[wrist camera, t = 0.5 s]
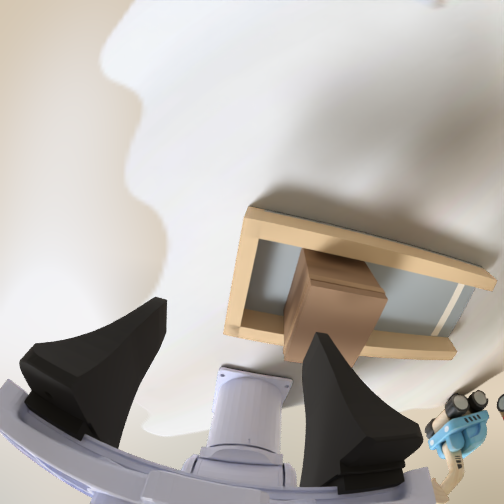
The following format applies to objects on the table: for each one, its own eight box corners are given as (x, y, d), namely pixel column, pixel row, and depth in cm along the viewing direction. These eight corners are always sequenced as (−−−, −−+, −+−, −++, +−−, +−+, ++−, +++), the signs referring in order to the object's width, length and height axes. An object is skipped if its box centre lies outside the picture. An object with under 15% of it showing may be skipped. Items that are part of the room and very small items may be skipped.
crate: (338, 319, 23) (351, 369, 17) (282, 310, 23) (283, 360, 17) (363, 257, 20) (389, 299, 15) (301, 244, 20) (310, 284, 15)
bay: (441, 342, 24) (451, 360, 21) (228, 313, 24) (223, 334, 21) (481, 266, 20) (497, 280, 17) (248, 206, 20) (243, 217, 17)
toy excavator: (417, 398, 28) (448, 499, 12) (485, 386, 28) (519, 459, 12) (390, 429, 31) (408, 519, 16) (459, 416, 31) (484, 485, 15)
